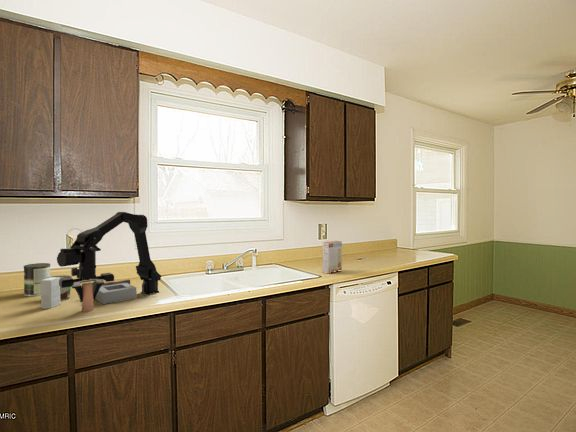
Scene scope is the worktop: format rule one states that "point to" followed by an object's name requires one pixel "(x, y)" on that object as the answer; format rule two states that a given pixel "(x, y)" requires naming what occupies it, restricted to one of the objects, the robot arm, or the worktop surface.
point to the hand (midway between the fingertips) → (87, 300)
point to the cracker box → (332, 256)
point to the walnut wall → (116, 282)
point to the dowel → (87, 297)
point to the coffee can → (35, 278)
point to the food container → (63, 291)
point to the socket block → (116, 293)
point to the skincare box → (50, 292)
